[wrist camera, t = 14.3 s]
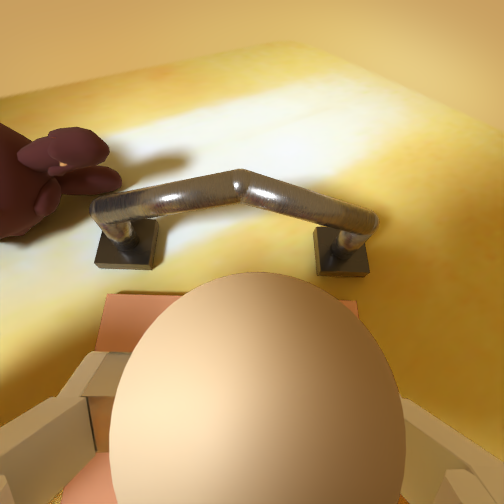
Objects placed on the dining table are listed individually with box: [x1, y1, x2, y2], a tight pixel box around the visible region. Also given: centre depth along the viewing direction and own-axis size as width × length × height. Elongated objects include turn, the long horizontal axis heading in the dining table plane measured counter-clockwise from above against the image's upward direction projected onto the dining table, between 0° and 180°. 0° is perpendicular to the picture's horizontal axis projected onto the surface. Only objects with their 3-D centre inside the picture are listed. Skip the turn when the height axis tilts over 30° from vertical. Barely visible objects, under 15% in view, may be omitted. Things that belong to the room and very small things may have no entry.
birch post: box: [109, 272, 406, 504], centre depth 9 cm, size 5×5×11 cm
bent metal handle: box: [89, 169, 379, 277], centre depth 15 cm, size 16×3×7 cm, turn 90°
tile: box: [61, 294, 359, 504], centre depth 15 cm, size 14×10×1 cm
